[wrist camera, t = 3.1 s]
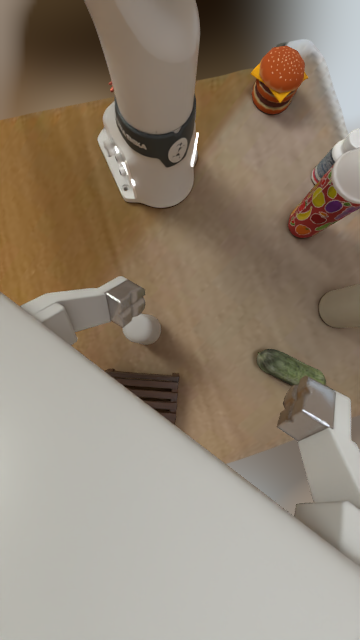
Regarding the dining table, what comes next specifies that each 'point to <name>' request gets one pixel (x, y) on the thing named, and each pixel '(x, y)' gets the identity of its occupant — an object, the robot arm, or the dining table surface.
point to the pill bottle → (336, 154)
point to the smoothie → (329, 197)
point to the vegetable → (287, 367)
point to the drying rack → (169, 383)
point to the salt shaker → (143, 329)
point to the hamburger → (277, 79)
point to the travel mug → (341, 307)
